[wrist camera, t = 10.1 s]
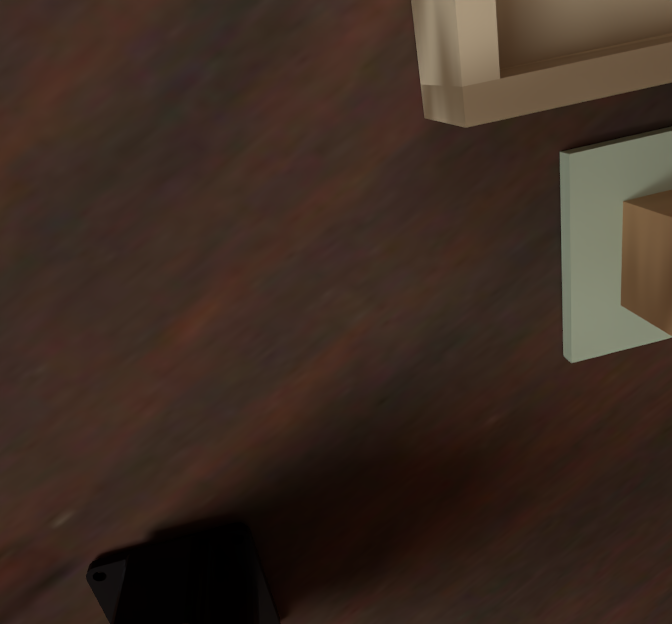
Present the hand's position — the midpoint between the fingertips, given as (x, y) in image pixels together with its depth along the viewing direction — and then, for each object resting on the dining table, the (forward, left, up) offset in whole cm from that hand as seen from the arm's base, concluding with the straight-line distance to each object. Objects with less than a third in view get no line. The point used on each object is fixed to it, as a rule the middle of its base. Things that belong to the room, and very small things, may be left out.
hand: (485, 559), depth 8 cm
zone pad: (-1, -12, -12) cm, 17 cm away
